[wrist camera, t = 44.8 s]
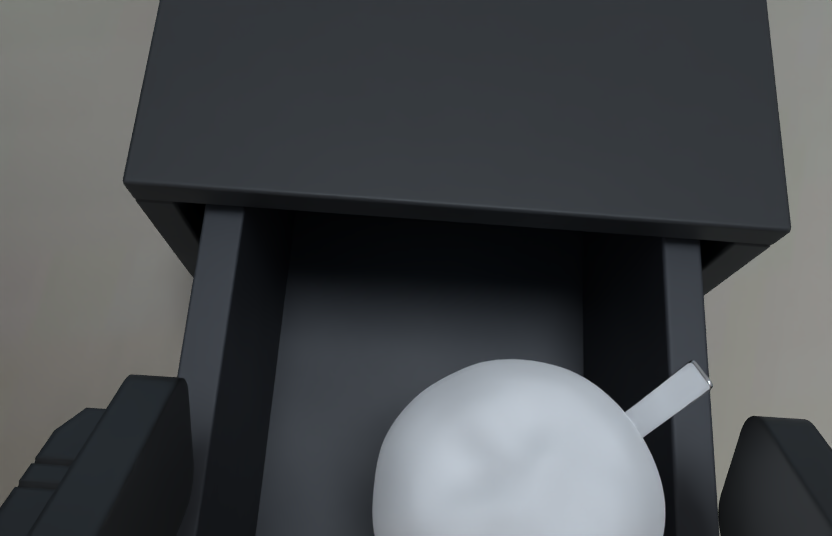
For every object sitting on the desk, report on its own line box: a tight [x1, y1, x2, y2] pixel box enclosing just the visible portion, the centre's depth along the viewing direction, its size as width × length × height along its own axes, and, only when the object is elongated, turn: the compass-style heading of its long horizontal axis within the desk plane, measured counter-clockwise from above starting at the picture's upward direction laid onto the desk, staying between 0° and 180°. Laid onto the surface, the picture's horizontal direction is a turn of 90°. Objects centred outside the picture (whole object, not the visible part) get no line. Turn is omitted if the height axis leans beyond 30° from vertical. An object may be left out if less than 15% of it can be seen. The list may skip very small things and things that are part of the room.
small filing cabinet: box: [123, 0, 791, 295], centre depth 21 cm, size 15×13×10 cm
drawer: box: [176, 204, 719, 536], centre depth 17 cm, size 19×11×8 cm, turn 176°
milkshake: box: [372, 359, 713, 536], centre depth 15 cm, size 4×5×10 cm
